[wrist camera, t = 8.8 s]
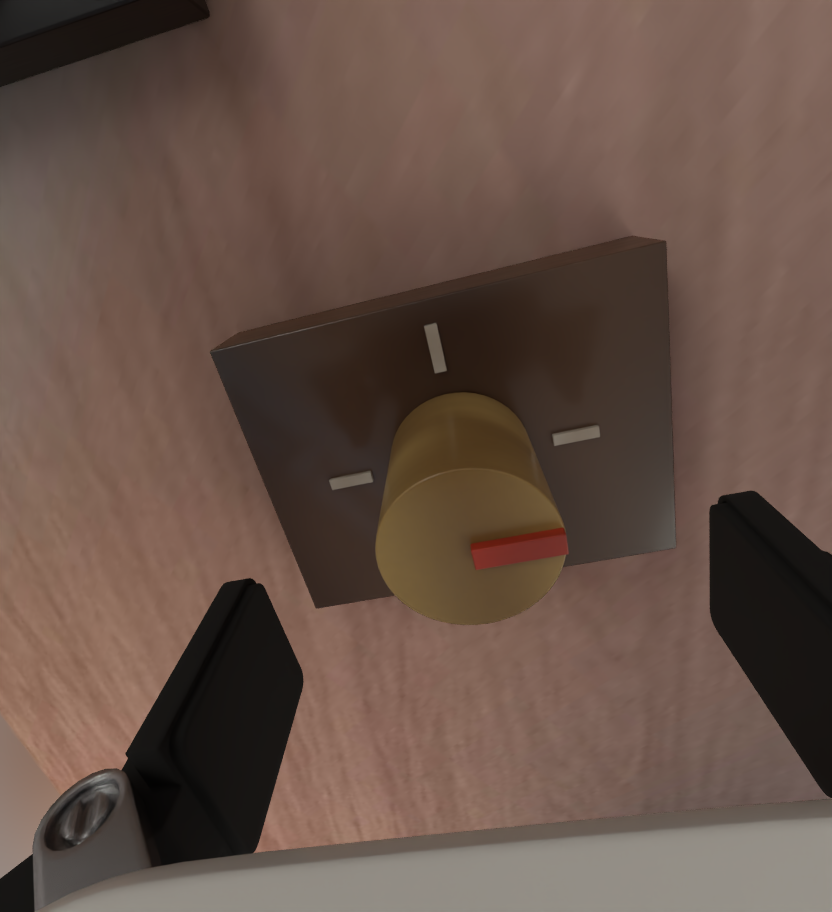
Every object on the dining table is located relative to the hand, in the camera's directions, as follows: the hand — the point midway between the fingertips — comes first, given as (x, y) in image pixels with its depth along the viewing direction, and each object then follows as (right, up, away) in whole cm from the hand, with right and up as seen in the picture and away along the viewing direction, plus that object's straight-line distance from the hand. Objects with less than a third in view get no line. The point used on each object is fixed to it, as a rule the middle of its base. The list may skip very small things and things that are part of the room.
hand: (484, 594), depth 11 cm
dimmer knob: (0, +3, +6) cm, 6 cm away
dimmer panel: (0, +4, +8) cm, 9 cm away
